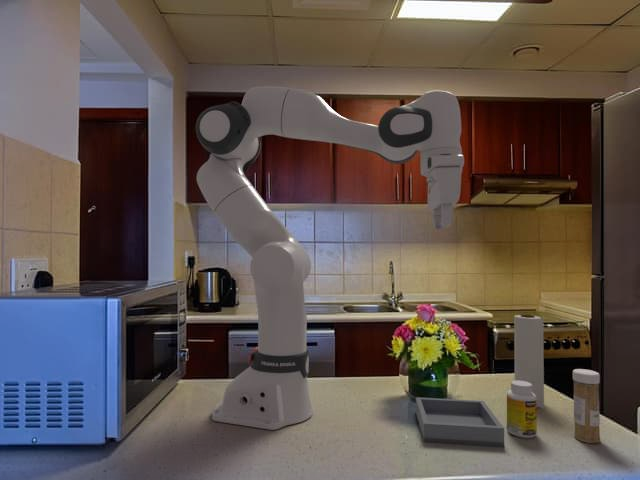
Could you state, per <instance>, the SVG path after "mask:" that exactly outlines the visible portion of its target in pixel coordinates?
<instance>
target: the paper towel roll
mask: <svg viewBox="0 0 640 480" xmlns="http://www.w3.org/2000/svg"><path fill="white" fill-rule="evenodd" d="M513 319H514V321H513V322H514V323H513V325H514V326H513V327H514V328H513V329H514V330H513V331H514V334H513V335H514V337H513V339H514V340H513V341H514V343H513V344H514V345H513V346H514V347H513V348H514V355H513V356H514V381H516V380H519V381H526V382H529V383H531V384H532V389H533V390H532V393H534V394H535V395H536V397H537V408H540V409H545V392H544V391H545V377H544V376H545V371H544V370H545V367H544V354H545V353H544V352H545V350H544V343H545V342H544V319H542V317H540V316H538V315H537V316H536V315H531V314H517V315H514V318H513Z"/></svg>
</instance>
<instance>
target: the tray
mask: <svg viewBox="0 0 640 480" xmlns="http://www.w3.org/2000/svg"><path fill="white" fill-rule="evenodd" d="M415 415H416V419H417V421H418V422H419V423H418V425H419V430H420V433H421V437H422V440H423V442H424V443H436V444H437V443H438V444H451V445H452V444H453V445H468V446H484V447H496V448H497V447H499V448H505V427H504V426H503V424H502V423H501V422H500V421H499V419H498V418H497V416H496V415H495V414H494V413H493V411H492V410H491V409H490V407H488V404H487V403H486V402H485V401H484V400H473V399H471V400H470V399H455V398H453V399H452V398H434V397H416V396H415Z"/></svg>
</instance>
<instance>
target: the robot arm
mask: <svg viewBox="0 0 640 480" xmlns="http://www.w3.org/2000/svg"><path fill="white" fill-rule="evenodd" d="M461 117H462V116H461V108H460V104H459V101H458V98H457V97H456V96H455V95H454V94H453V93H452V92H449V91H447V90H441V89H434V90H430V91H429V90H428V91H426V92H425V93H423V94H422V95H421V96H420V97H419V98H417V99H416V100H413V101H412V102H409V103H407V104H404V105H400V106H394V107H392V108H390V109H388V110H387V111H386V112H384V113H383V114H382V116H381V118H380V119H379V121H378V122H379V123H378V125H375V124H371V123H365V122H362V121H361V122H360V121H356V120H352V119H348V118H346V117H344V116H341V115H340V114H339V113H337V112H336V111H335V110H334V109H333V108H331V106H329V104H328V102H326V101H325V100H324V99H323V98H322V97H321V96H319V95H318V94H316V93H313V92H310V91H307V90H305V89H298V88H291V87H287V86H286V87H285V86H276V85H275V86H272V85H270V86H269V85H266V86H264V85H263V86H254V87H251V88H250V89H248V90H247V91H246V92H245V94H244V96H243V99H242V101H241V104H240V102H237V101H234V100H233V101H229V102H227V103H224V104H217V105H213V106H209V107H208V108H206V109H204V110H203V111H202V112H201V113H200V114H199V116H198V117H197V119H196V122H195V134H196V137H197V139H198V141H199V143H200V145H201V146H202V147H203V149H205V150H206V151H207V152H209V153H210V155H209V158H208V159H207V161H205V162H204V164H202V165H201V166H200V168H199V169H198V171H197V173H196V182H197V185H198V187H199V190H200V191H201V194H202V196H203V198H204V199H205V201H206V203H207V204H208V206H209V207H210V209H211V211H213V214H215V216H216V217H217V219H218V220H219V221H220V223H221V225H223V227H224V228H225V230H226V231H227V233H228V234H229V235H230V237H231V238H232V239H233V240H234V242H236V243H237V244H238V245H240V247H241V248H243V249H244V251H246V253H247V254H248V255H250V257H251V261H250V265H249V268H250V270H249V271H250V275H251V277H252V279H253V286H254V287H253V288H254V295H255V301H256V302H255V303H256V308H257V316H258V325H257V326H258V328H257V329H258V330H257V331H258V332H257V333H258V334H257V335H258V336H257V338H258V339H257V340H258V341H257V346H256V347H255V348H253V349H252V351H251V353H250V354H249V356H248V360H247V361H248V363H249V367H247V368H246V369H245V370H244V371H242V372H241V373H240V374H238V375H237V376H236V377H235V378H233V379H232V380H231V381H230V382H229V383H228V385H227V386H226V388H225V390H224V394H223V399H222V400H221V401H220V402H218V403H217V404H216V405H215V406H214V408H213V409H212V412H211V418H212V421H214V422H220V423H226V424H231V425H232V424H233V425H238V426H239V425H240V426H245V427H246V426H247V427H250V428H251V427H253V428H258V429H264V430H265V429H266V430H271V431H273V430H278V429H280V428H283V427H286V426H290V425H295V424H298V423H302V422H304V421H306V420H308V419H310V418H311V417H312V416H313V413H314V411H313V407H312V403H311V399H310V393H309V385H308V374H309V370H310V369H309V367H310V366H309V363H310V361H309V360H310V359H309V351H308V348H307V334H308V333H307V331H308V330H307V327H308V326H307V325H308V321H307V320H308V318H307V316H308V314H307V311H306V303H305V291H304V282H305V281H306V280H307V279H308V277H309V275H310V273H311V268H312V262H311V258H310V255H309V254H308V252H307V251H306V249H305V248H304V247H303V246H302V245H301V243H300V242H299V240H298V239H297V238H296V237H295V236H294V235H293V233H292V232H291V231H290V230H289V229H288V228H287V227H286V225H285V224H284V223H283V222H282V221H281V220H280V218H278V216H276V214H275V213H274V212H273V211H272V209H271V208H270V207H269V205H268V203H267V202H266V201H265V200H264V199H263V198H262V196H261V195H260V194H259V192H258V191H257V189H256V188H255V187H254V186H253V184H252V183H251V181H250V180H249V179H248V178H247V177H246V175H245V173H246V172H247V171H248V170H249V168H250V167H251V165H252V164H253V163H254V162H256V159H257V158H258V157H259V155H260V153H261V147H262V143H261V138H260V137H263V136H267V135H273V136H274V135H275V136H278V137H282V138H288V139H297V140H305V141H315V142H323V143H331V144H336V145H339V146H344V147H350V148H353V149H357V150H363V151H367V152H371V153H373V154H376V155H378V157H380V158H381V159H383V160H385V161H386V162H388V163H390V164H394V165H401V164H406V163H408V162H410V161H411V160H412V159H414V158H415V157H416V156H417V154H418V151H419V152H420V159H419V160H420V175H421V176H422V177H426V183H427V210H428V212H430V213H432V217H433V222H434V226H433V227H434V230H435V231H442V230H444V228H451V227H452V217H453V211H454V210H453V209H454V205H455V204H457V203H458V202H459V200H460V197H461V186H462V174H463V167H464V165H465V157H464V154H463V149H462V146H461V141H460V139H461V135H462V118H461Z"/></svg>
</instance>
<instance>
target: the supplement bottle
mask: <svg viewBox="0 0 640 480" xmlns="http://www.w3.org/2000/svg"><path fill="white" fill-rule="evenodd" d="M532 390H533V389H532V384H531V383H529V382H526V381H519V380H516V381H515V380H512V381H511V382H510V389H509V390H507V392H506V429H507V432H508V433H509V434H510V435H513V436H515V437H518V438H523V439H531V438H534V437H536V435H537V433H538V432H537V430H538V428H537V426H538V425H537V423H538V422H537V419H538V418H537V417H538V416H537V414H538V413H537V411H538V410H537V409H538V407H537V397H536V395H535V394H534V393H532Z"/></svg>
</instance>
